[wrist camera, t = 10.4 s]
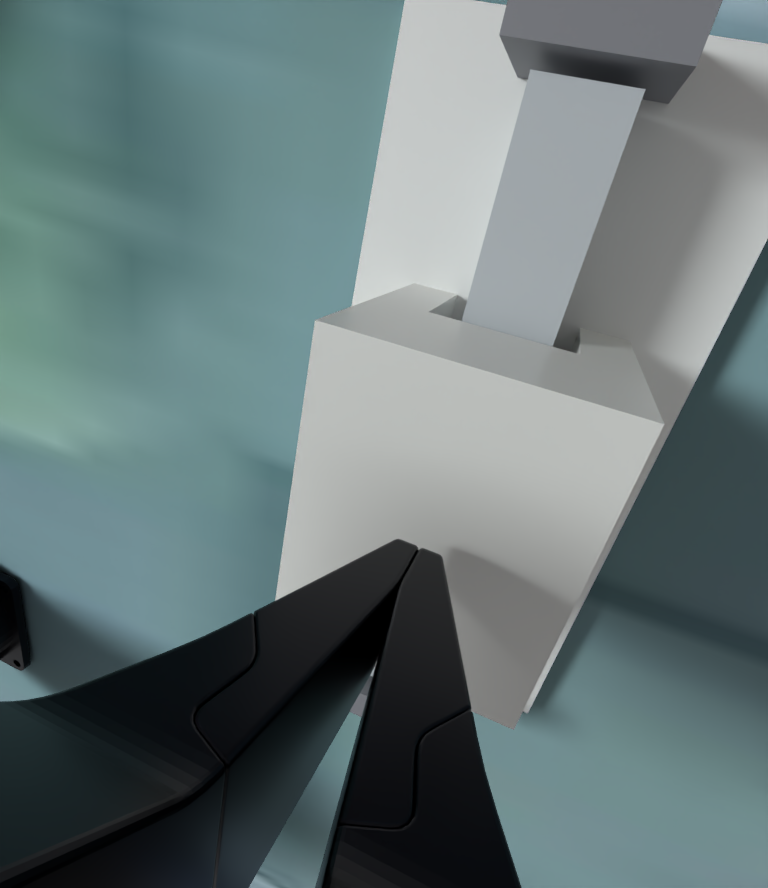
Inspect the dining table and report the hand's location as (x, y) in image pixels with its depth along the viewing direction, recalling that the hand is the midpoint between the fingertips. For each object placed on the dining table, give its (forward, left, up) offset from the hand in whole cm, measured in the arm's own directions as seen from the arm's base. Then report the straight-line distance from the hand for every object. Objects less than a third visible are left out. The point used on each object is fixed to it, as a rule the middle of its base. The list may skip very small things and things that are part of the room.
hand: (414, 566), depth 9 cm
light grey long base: (0, 0, -7) cm, 7 cm away
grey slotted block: (0, 0, -7) cm, 7 cm away
